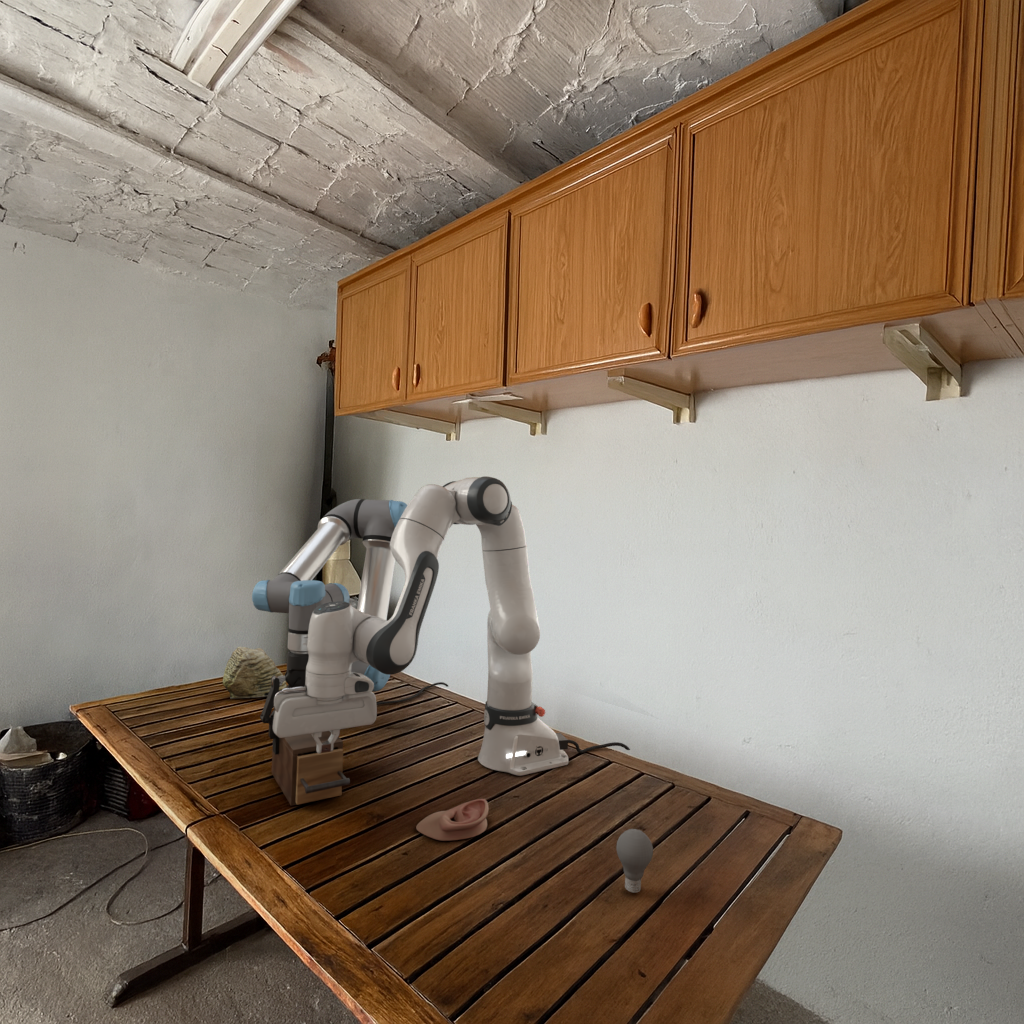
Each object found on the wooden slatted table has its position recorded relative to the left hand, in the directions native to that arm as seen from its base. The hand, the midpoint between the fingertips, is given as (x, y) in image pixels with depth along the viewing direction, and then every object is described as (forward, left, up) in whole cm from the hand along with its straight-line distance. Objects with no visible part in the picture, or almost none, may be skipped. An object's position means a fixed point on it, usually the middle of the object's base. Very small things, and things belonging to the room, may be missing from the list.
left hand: (301, 747), depth 143 cm
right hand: (+6, +17, +6) cm, 19 cm away
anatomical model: (-8, +40, -7) cm, 41 cm away
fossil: (-23, -60, -7) cm, 65 cm away
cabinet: (+1, +4, -7) cm, 8 cm away
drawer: (+3, +9, -5) cm, 11 cm away
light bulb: (-14, +76, -7) cm, 78 cm away
